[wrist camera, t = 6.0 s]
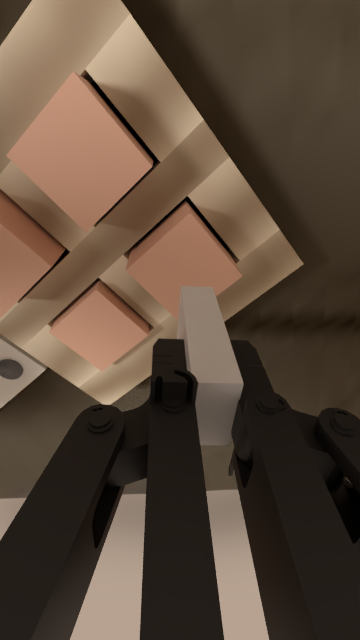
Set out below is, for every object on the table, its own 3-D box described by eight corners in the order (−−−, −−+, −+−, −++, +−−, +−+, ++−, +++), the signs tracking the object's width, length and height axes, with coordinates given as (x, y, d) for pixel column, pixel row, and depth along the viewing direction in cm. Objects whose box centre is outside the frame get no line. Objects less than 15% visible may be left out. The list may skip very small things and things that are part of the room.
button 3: (31, 151, 18) (5, 155, 15) (89, 81, 17) (73, 71, 14) (97, 217, 20) (86, 232, 17) (153, 160, 19) (152, 166, 16)
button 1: (-43, 241, 21) (-79, 260, 18) (1, 187, 19) (-29, 198, 16) (22, 292, 23) (1, 317, 20) (67, 247, 21) (51, 267, 18)
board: (-101, 228, 22) (-135, 241, 20) (90, -33, 16) (76, -64, 14) (111, 383, 31) (106, 407, 28) (288, 250, 25) (303, 264, 22)
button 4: (130, 250, 22) (125, 270, 19) (185, 200, 20) (190, 212, 17) (178, 298, 24) (180, 323, 21) (231, 255, 22) (242, 276, 19)
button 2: (62, 307, 26) (48, 332, 22) (104, 268, 24) (96, 289, 21) (108, 344, 28) (101, 371, 25) (149, 311, 26) (148, 335, 23)
